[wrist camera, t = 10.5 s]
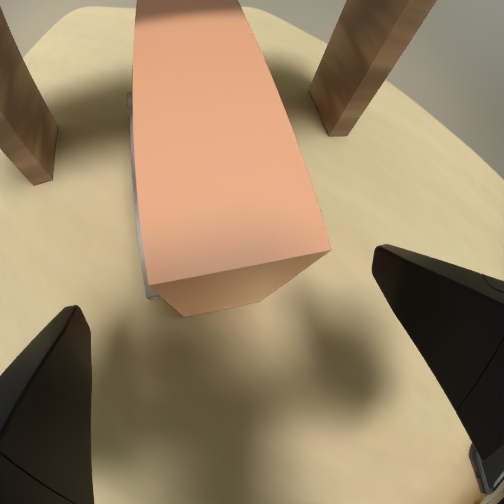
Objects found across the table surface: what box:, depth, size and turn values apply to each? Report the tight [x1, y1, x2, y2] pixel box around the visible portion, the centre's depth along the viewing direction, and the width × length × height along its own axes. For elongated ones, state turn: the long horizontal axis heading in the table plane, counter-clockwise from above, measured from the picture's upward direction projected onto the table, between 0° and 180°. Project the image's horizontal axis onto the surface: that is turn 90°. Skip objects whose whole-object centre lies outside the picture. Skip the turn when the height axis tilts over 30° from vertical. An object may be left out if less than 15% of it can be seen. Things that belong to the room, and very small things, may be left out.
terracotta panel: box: [133, 0, 332, 317], centre depth 13 cm, size 12×4×10 cm, turn 13°
